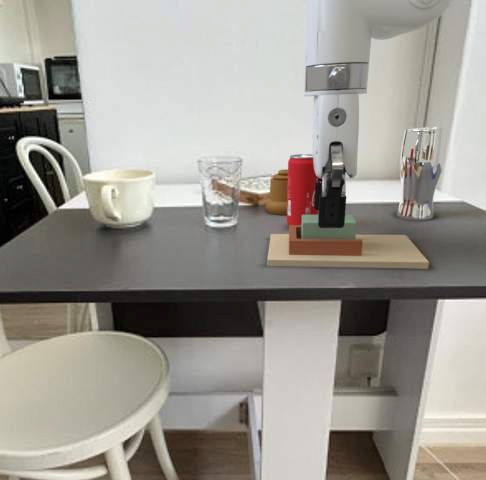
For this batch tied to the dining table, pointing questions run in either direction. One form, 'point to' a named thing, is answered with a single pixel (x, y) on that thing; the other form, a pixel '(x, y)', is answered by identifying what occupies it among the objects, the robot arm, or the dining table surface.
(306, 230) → the green rectangular block
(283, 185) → the brown bell
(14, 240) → the dining table surface
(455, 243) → the dining table surface
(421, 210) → the beer glass
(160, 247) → the dining table surface
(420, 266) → the base pad
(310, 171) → the beverage can
